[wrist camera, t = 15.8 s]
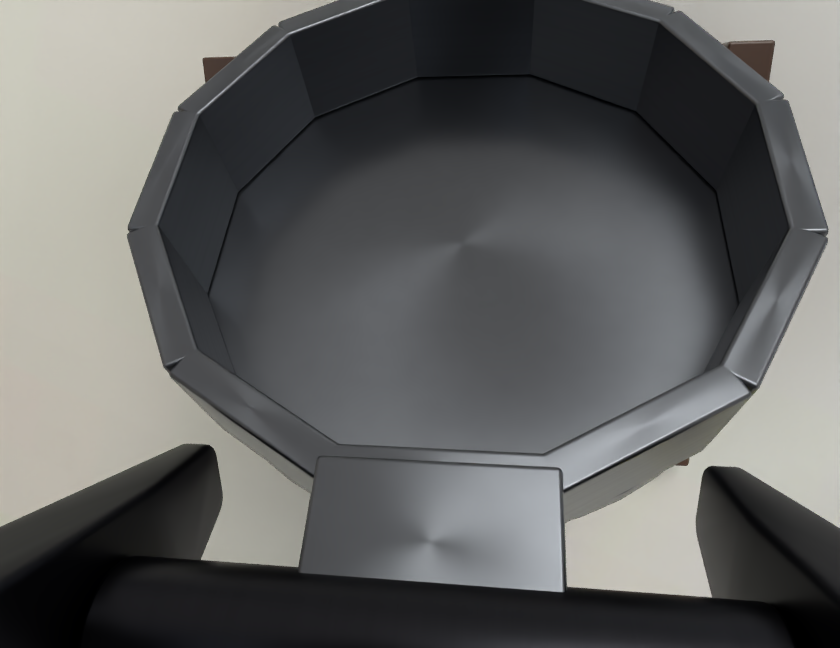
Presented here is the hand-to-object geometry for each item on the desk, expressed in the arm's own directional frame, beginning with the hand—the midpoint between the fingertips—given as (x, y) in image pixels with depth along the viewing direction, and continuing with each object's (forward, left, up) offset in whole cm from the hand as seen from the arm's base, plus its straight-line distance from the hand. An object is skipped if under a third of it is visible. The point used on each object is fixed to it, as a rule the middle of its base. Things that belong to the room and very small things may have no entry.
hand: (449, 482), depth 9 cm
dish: (0, +1, -3) cm, 3 cm away
